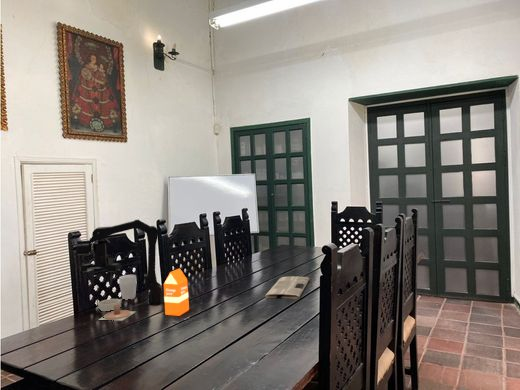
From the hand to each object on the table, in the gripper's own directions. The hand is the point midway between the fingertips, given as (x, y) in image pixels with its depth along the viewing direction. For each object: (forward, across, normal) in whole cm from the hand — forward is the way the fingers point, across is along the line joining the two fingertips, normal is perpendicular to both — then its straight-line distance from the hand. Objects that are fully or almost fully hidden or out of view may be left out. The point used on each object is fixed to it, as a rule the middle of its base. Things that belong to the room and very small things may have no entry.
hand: (101, 284), depth 193 cm
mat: (+13, -12, +8) cm, 20 cm away
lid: (+12, -12, +8) cm, 19 cm away
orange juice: (+13, -40, +2) cm, 42 cm away
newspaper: (+12, -88, -37) cm, 97 cm away
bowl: (+13, -2, -3) cm, 13 cm away
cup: (+13, -3, -20) cm, 24 cm away
